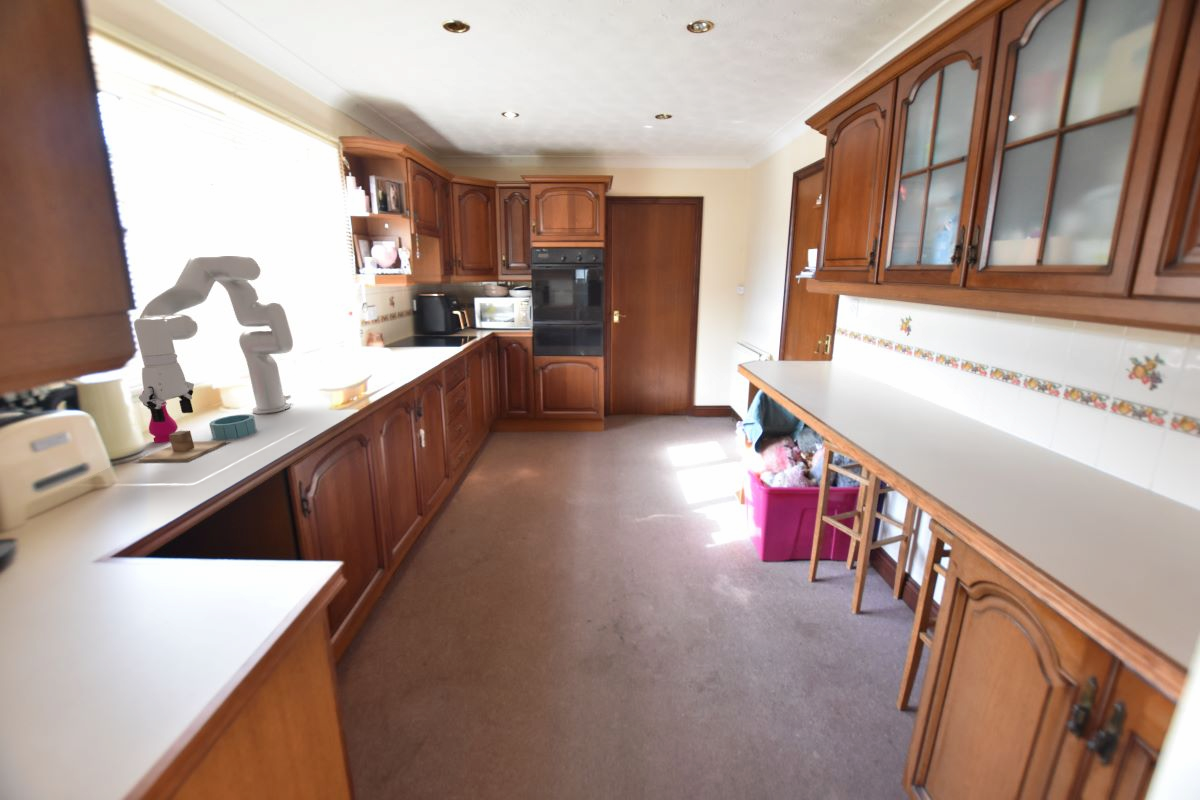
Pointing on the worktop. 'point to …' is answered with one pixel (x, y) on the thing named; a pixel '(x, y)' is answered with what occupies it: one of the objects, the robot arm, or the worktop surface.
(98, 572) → the worktop surface
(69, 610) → the worktop surface
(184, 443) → the lid
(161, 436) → the pepper mill
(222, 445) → the mat
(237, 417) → the bowl
